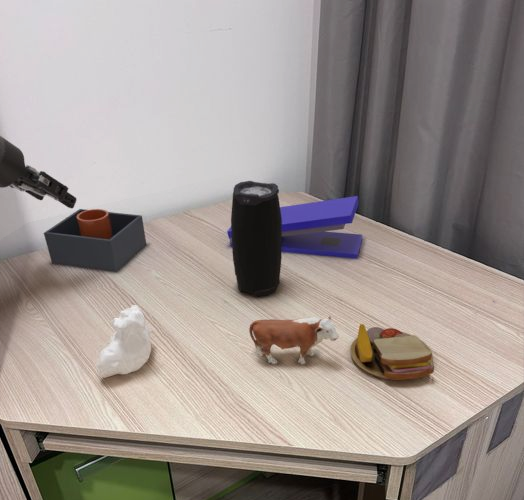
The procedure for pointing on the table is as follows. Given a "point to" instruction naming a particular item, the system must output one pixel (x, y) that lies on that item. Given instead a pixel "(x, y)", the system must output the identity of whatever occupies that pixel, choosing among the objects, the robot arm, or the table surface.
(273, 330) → the bull figurine
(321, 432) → the table surface
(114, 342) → the bust
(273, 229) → the portable speaker
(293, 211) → the stapler
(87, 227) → the rice cup
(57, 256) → the tub
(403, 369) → the toy sandwich meal
